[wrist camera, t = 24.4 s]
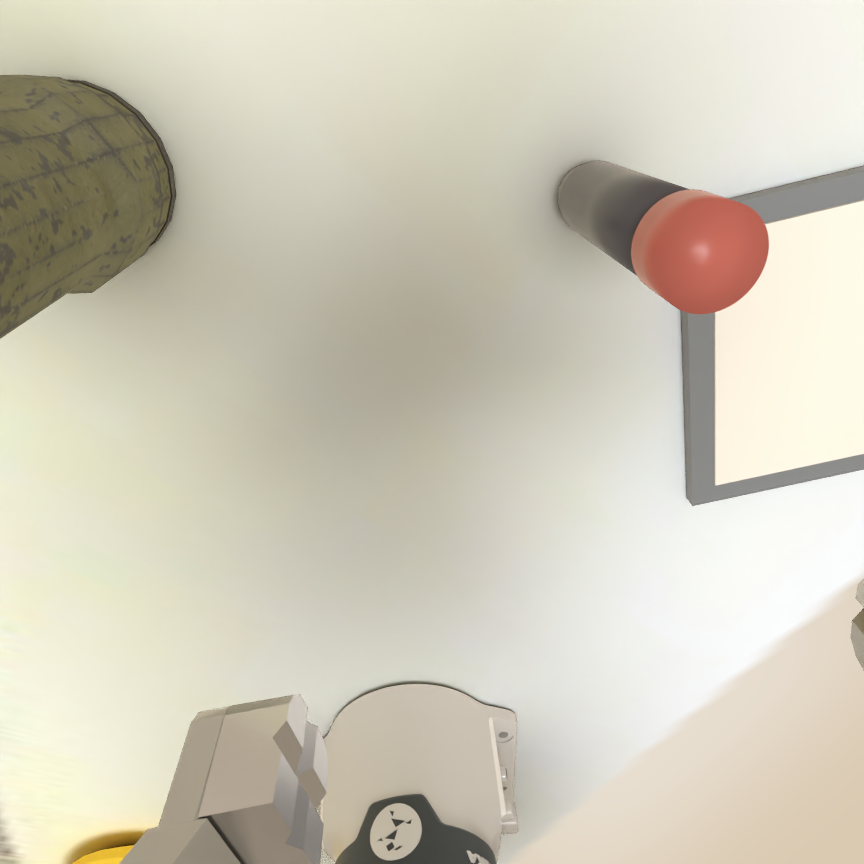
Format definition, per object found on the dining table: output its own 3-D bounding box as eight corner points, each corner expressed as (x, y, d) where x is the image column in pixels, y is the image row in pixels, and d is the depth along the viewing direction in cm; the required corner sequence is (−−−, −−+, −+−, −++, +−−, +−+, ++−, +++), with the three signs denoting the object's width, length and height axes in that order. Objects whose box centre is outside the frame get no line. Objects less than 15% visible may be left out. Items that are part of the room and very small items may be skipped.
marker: (622, 220, 35) (766, 299, 22) (555, 237, 35) (660, 325, 22) (616, 147, 33) (771, 187, 20) (545, 165, 33) (655, 217, 20)
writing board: (917, 447, 43) (930, 457, 42) (686, 497, 44) (693, 507, 43) (977, 138, 34) (995, 140, 33) (678, 210, 35) (687, 215, 34)
